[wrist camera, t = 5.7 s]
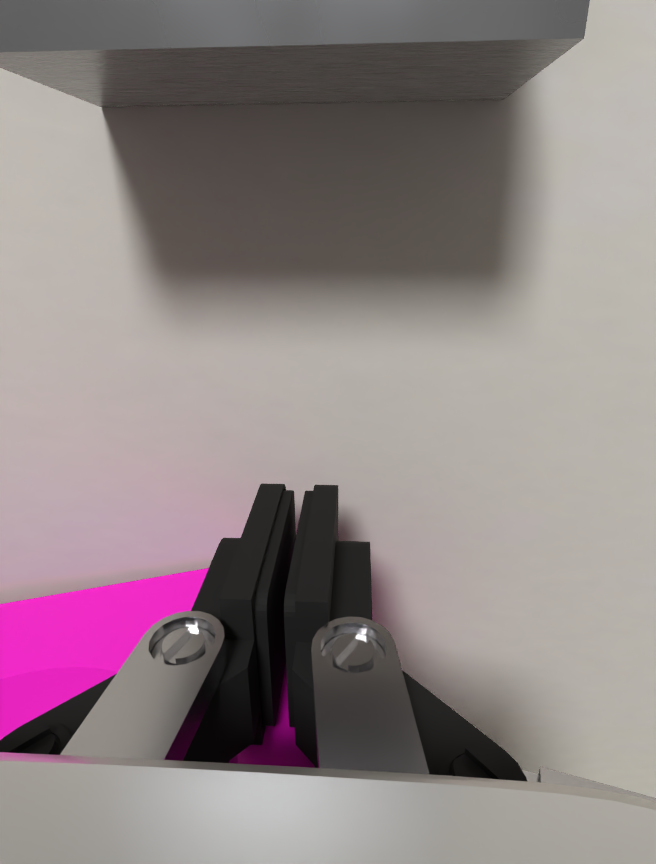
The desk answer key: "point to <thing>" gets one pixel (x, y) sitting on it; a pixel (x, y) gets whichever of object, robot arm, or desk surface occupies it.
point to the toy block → (102, 652)
